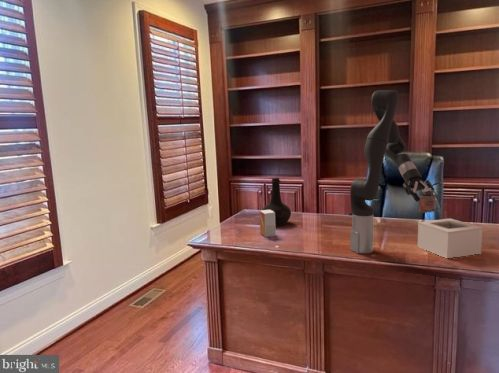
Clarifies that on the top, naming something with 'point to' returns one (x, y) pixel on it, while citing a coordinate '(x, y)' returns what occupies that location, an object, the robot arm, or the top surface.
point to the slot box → (450, 238)
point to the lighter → (427, 201)
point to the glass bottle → (278, 204)
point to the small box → (267, 223)
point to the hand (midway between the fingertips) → (425, 200)
